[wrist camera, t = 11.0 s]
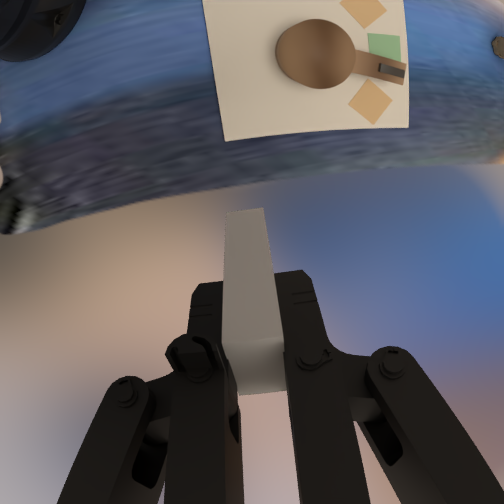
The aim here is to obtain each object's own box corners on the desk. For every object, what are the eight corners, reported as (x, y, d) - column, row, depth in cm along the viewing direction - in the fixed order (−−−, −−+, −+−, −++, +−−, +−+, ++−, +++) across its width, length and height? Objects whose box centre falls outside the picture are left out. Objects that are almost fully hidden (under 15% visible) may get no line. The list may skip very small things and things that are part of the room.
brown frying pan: (271, 79, 29) (277, 83, 26) (278, 18, 25) (285, 13, 22) (384, 99, 31) (403, 107, 27) (393, 43, 27) (414, 44, 23)
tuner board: (201, -10, 24) (200, -12, 23) (396, -12, 23) (401, -13, 22) (225, 138, 35) (225, 141, 33) (403, 125, 34) (408, 127, 33)
